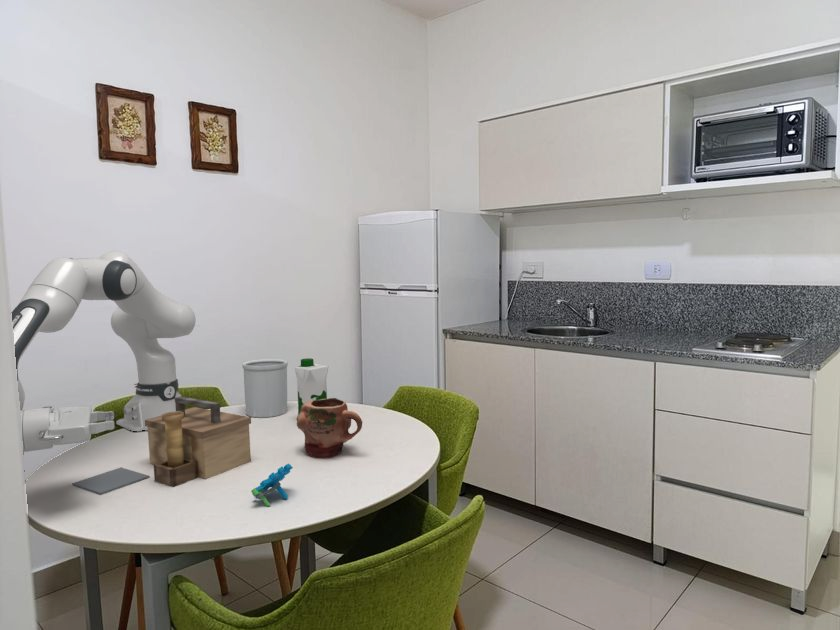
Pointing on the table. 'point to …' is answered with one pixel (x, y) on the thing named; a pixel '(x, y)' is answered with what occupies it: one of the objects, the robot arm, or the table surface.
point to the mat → (110, 480)
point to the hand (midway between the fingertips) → (114, 419)
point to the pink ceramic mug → (326, 426)
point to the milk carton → (310, 382)
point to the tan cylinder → (174, 438)
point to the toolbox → (200, 442)
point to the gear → (272, 484)
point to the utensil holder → (265, 387)
